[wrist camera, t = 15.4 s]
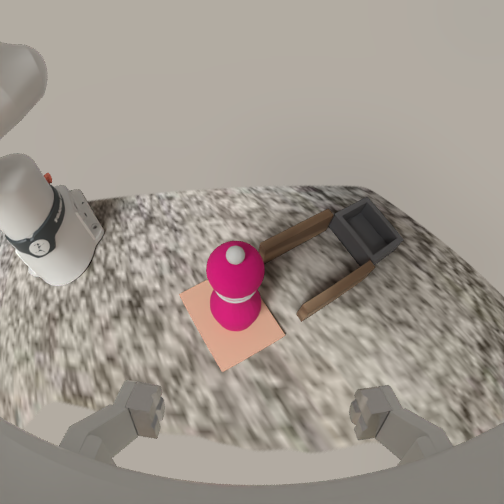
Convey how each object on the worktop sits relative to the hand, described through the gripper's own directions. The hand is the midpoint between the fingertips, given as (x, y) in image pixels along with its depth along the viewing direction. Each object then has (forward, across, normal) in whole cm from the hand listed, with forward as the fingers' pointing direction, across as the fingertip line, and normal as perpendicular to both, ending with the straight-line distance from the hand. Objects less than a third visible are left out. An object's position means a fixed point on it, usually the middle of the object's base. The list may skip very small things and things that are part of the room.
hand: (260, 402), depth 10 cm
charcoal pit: (+42, -22, +3) cm, 47 cm away
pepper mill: (+31, +2, +13) cm, 34 cm away
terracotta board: (+31, +2, +14) cm, 34 cm away
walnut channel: (+37, -11, +7) cm, 39 cm away
